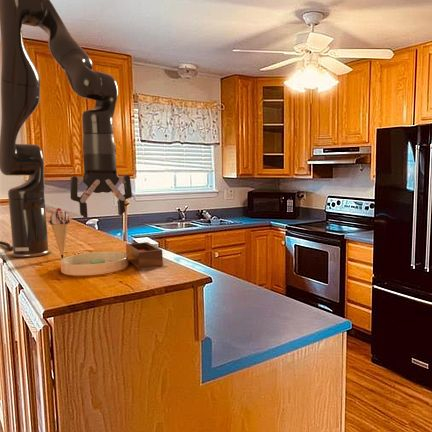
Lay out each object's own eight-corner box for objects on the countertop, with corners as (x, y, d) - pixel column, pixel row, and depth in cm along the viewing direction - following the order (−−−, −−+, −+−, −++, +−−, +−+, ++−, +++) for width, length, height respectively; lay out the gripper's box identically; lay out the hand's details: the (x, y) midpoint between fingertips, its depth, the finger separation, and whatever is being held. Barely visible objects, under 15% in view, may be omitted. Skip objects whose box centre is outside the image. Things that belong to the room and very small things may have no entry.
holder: (126, 260, 120) (125, 244, 120) (148, 258, 124) (147, 242, 123) (139, 270, 109) (138, 252, 109) (163, 267, 113) (162, 249, 112)
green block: (90, 268, 110) (89, 259, 109) (102, 267, 111) (102, 258, 111) (92, 271, 106) (92, 262, 106) (105, 270, 108) (105, 260, 108)
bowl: (57, 267, 114) (56, 256, 113) (120, 259, 123) (120, 249, 122) (65, 280, 100) (64, 268, 100) (135, 270, 109) (134, 259, 109)
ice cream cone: (78, 258, 124) (74, 207, 122) (61, 262, 118) (58, 209, 117) (62, 257, 126) (59, 206, 124) (46, 261, 120) (42, 208, 118)
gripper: (125, 153, 114) (128, 213, 116) (66, 152, 106) (70, 216, 108) (132, 152, 108) (135, 215, 110) (70, 152, 100) (75, 220, 102)
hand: (103, 216), depth 109 cm, fingers open, 8 cm apart
